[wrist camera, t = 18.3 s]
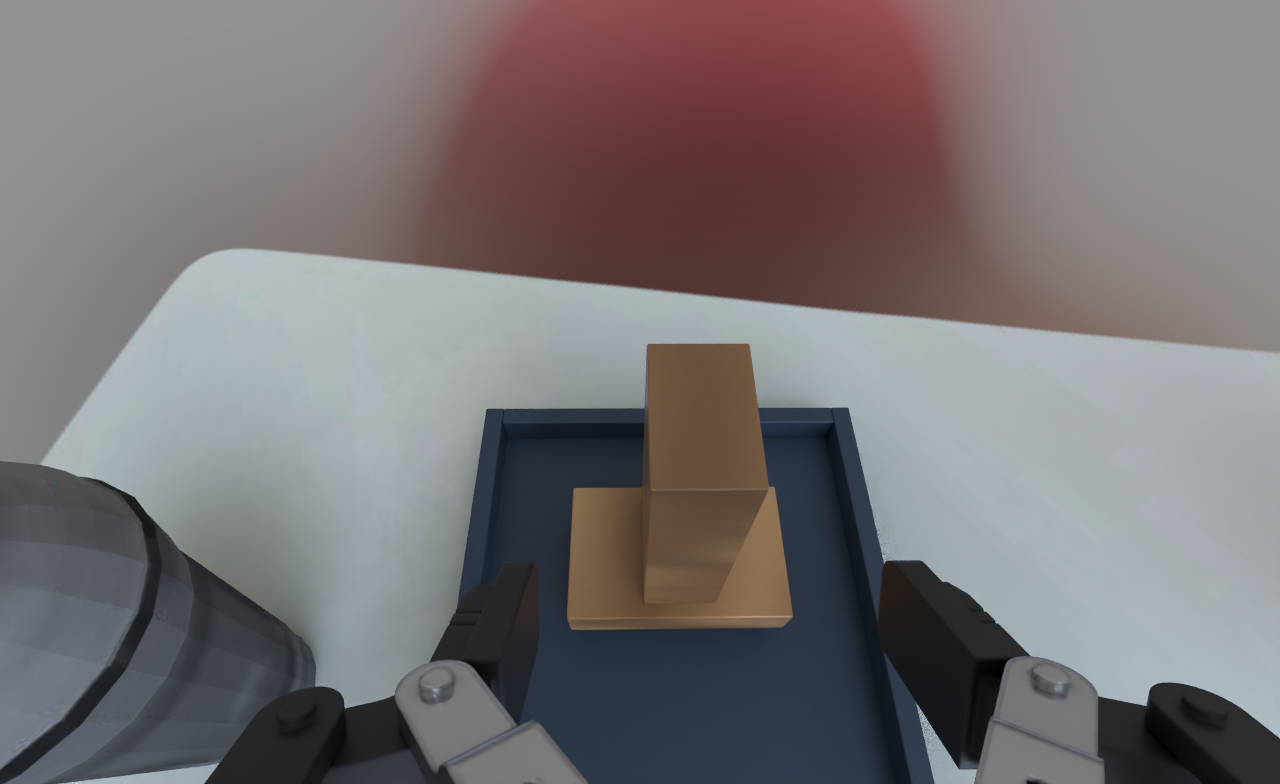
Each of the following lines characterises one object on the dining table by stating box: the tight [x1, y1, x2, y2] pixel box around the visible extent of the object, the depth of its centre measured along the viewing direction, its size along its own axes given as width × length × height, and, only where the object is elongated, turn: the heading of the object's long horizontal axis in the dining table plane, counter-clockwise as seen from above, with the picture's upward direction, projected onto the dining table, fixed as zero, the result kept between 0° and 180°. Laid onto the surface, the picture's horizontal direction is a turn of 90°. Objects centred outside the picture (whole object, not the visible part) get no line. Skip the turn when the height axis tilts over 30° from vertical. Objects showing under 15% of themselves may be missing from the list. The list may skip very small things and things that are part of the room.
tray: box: [457, 408, 934, 784], centre depth 22 cm, size 17×24×2 cm
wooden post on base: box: [567, 344, 793, 631], centre depth 20 cm, size 8×5×13 cm, turn 91°
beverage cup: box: [0, 461, 315, 784], centre depth 15 cm, size 7×7×20 cm
